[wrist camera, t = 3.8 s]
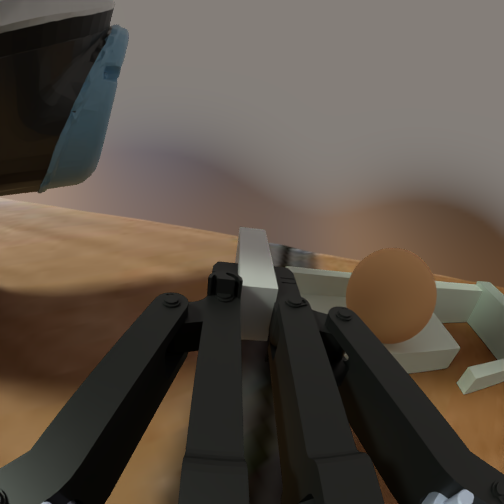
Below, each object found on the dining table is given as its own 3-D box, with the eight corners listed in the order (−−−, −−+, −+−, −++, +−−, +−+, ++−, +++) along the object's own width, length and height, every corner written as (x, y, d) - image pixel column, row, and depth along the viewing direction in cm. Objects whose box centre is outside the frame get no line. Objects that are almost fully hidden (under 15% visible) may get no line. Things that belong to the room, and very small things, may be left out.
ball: (316, 327, 21) (343, 241, 18) (360, 298, 25) (383, 227, 22) (393, 378, 16) (442, 290, 13) (423, 335, 21) (457, 262, 18)
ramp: (294, 419, 16) (318, 368, 14) (276, 308, 26) (287, 260, 24) (522, 374, 18) (545, 338, 16) (474, 314, 29) (489, 282, 27)
